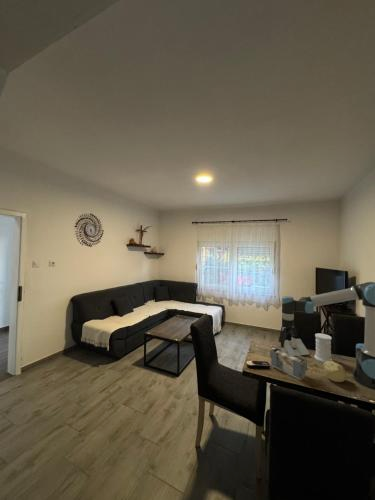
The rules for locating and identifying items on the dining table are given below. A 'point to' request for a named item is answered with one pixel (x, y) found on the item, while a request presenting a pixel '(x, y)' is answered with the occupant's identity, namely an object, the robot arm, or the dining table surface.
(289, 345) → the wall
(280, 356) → the rail
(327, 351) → the decorative container
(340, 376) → the pale yellow round lump
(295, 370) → the bracket stand
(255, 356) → the dining table surface
